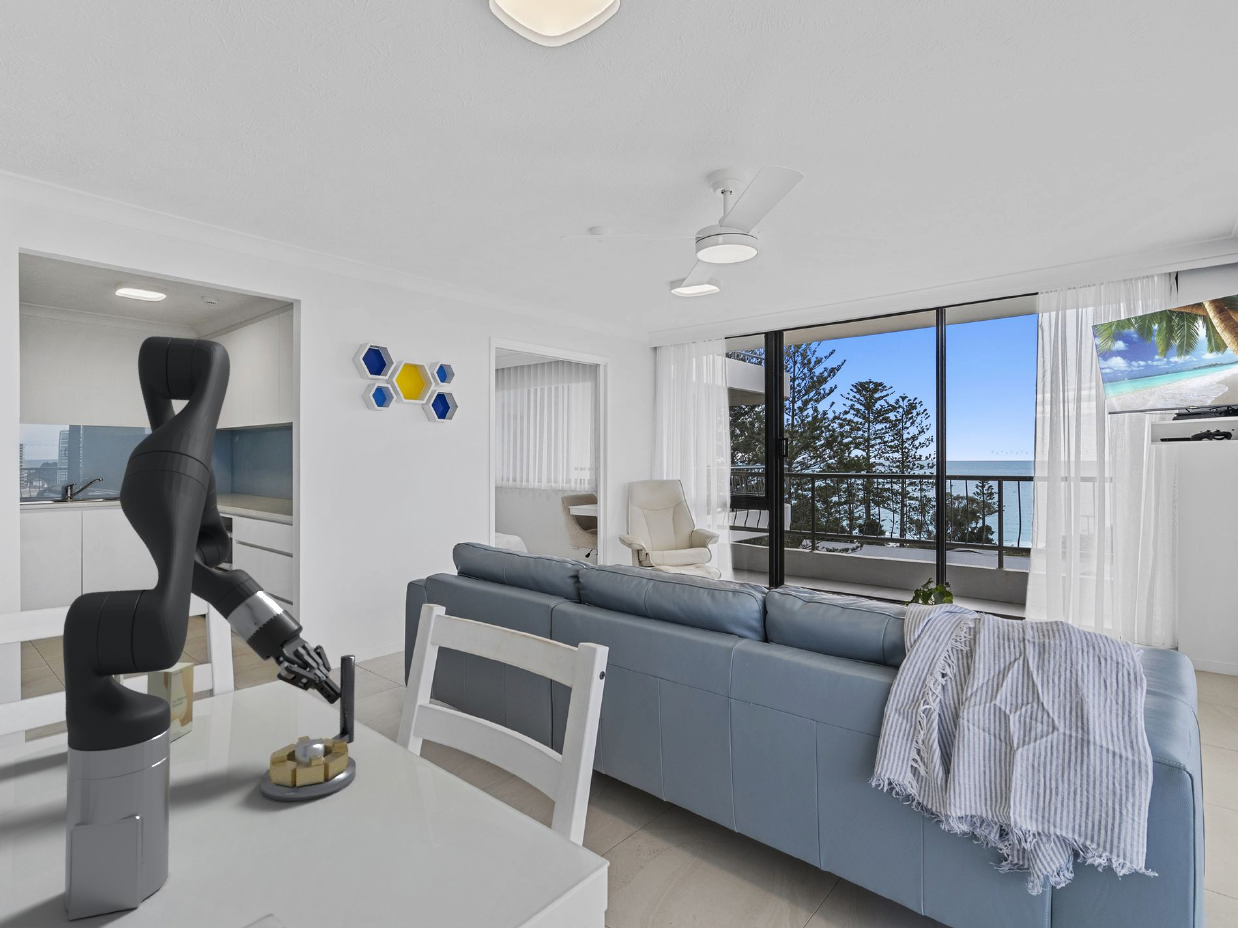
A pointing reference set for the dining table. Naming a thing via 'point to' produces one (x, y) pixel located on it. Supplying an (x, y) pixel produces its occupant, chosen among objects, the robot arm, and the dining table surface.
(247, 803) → the dining table surface
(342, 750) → the lever crank
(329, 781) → the flange
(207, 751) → the dining table surface
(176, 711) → the skincare box
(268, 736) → the dining table surface
